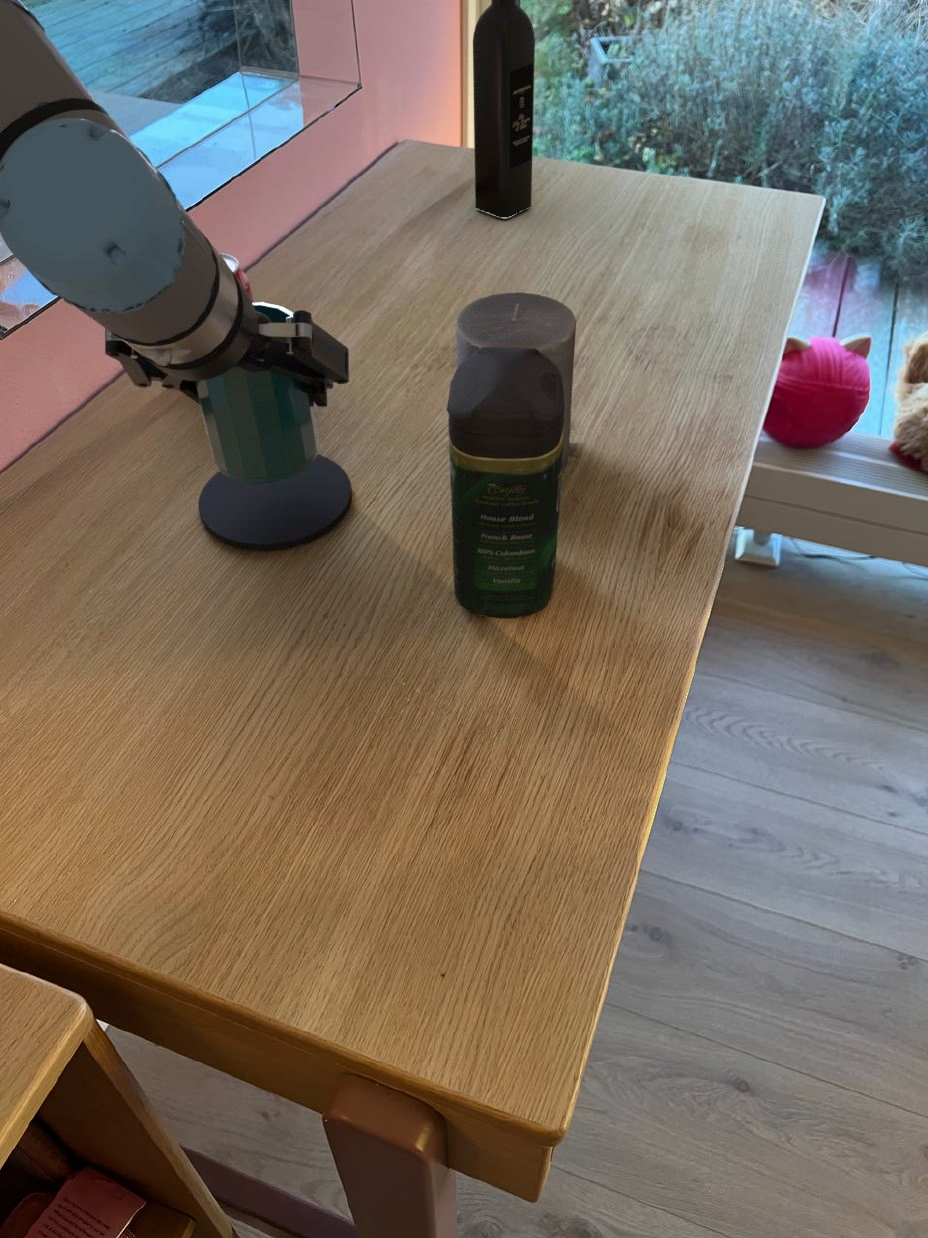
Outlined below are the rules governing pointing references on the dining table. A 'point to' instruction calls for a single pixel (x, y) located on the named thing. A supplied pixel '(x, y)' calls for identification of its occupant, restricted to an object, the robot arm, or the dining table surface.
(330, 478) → the coaster
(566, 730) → the dining table surface
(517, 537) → the coffee jar
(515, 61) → the wine bottle
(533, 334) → the pillar candle
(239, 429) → the mug
